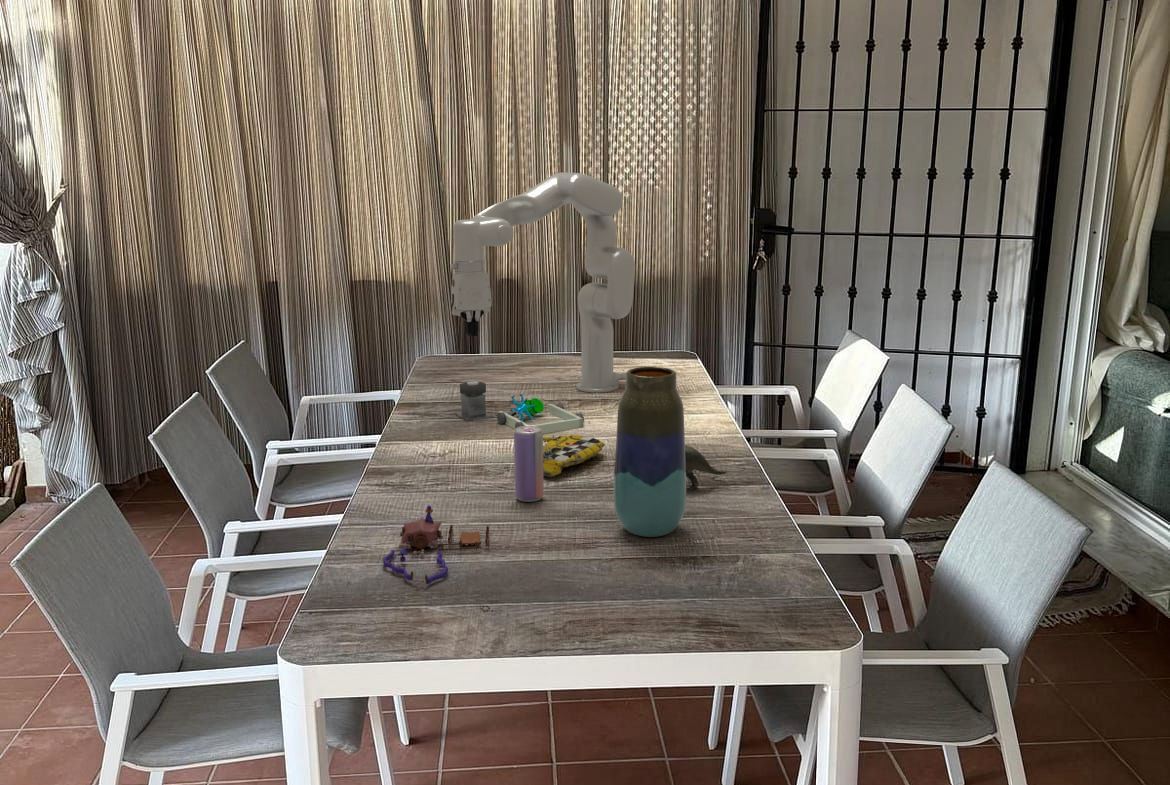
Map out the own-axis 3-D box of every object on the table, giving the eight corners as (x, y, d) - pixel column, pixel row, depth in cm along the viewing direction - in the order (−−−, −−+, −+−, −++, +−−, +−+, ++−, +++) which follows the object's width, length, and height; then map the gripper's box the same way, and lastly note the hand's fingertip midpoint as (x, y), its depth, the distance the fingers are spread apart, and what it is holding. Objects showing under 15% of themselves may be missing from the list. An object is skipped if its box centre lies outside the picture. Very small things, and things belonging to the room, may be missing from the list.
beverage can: (522, 504, 214) (520, 434, 211) (510, 495, 219) (509, 427, 216) (548, 499, 217) (547, 430, 213) (536, 491, 222) (535, 423, 219)
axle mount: (481, 410, 288) (480, 389, 287) (493, 417, 281) (492, 395, 280) (454, 414, 284) (453, 393, 283) (465, 421, 277) (465, 399, 276)
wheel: (480, 396, 286) (479, 378, 285) (490, 401, 280) (489, 383, 279) (456, 399, 283) (455, 381, 282) (466, 405, 277) (465, 386, 276)
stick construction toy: (520, 420, 271) (509, 394, 273) (504, 432, 276) (493, 405, 277) (551, 415, 280) (540, 389, 282) (535, 426, 285) (524, 401, 286)
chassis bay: (555, 411, 286) (555, 401, 286) (587, 427, 271) (587, 416, 270) (494, 420, 278) (493, 410, 277) (523, 437, 262) (523, 425, 262)
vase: (664, 548, 191) (666, 383, 183) (600, 534, 198) (599, 374, 191) (697, 525, 202) (701, 368, 195) (635, 512, 209) (636, 360, 202)
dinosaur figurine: (727, 487, 224) (729, 437, 221) (719, 500, 216) (721, 448, 213) (630, 477, 231) (630, 429, 228) (619, 489, 223) (619, 439, 220)
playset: (488, 583, 177) (487, 545, 176) (376, 588, 176) (374, 550, 174) (489, 530, 201) (488, 496, 200) (390, 533, 200) (388, 500, 198)
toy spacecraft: (501, 472, 236) (501, 451, 235) (554, 446, 255) (554, 427, 254) (564, 484, 228) (564, 462, 227) (614, 457, 247) (614, 436, 246)
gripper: (448, 270, 267) (451, 340, 271) (501, 266, 274) (503, 335, 278) (437, 267, 273) (440, 336, 278) (489, 263, 280) (491, 330, 285)
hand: (472, 335), depth 278 cm, fingers closed
